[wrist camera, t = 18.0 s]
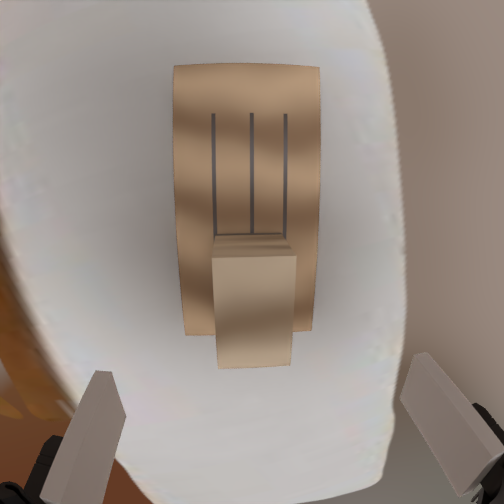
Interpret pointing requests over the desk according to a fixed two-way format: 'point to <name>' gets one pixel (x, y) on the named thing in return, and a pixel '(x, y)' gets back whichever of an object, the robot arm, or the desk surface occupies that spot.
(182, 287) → the board
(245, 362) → the block
